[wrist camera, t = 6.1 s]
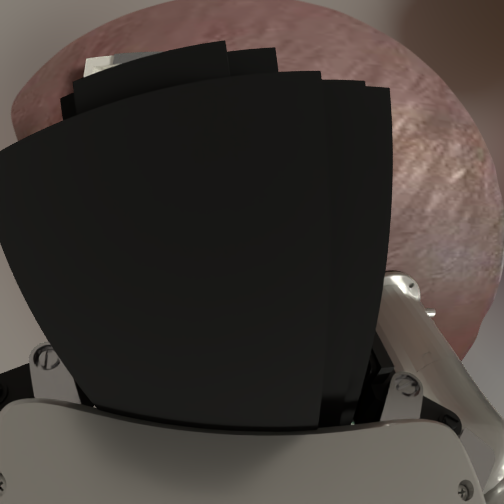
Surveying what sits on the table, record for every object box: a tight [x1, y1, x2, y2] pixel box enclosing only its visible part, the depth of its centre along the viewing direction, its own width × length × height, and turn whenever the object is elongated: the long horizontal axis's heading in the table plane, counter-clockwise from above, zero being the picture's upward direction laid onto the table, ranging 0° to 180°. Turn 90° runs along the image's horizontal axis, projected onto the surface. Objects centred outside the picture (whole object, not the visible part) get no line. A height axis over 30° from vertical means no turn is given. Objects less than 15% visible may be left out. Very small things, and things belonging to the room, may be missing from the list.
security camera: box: [0, 41, 393, 432], centre depth 10 cm, size 7×18×10 cm, turn 7°
